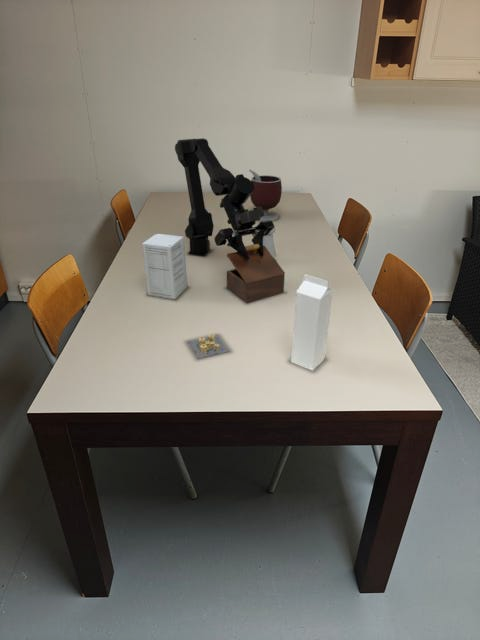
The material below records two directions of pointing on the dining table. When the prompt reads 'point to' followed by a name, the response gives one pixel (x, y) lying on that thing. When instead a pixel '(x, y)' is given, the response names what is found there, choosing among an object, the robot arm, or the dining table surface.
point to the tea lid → (255, 265)
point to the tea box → (254, 287)
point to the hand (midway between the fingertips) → (255, 257)
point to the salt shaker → (270, 243)
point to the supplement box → (165, 265)
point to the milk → (311, 322)
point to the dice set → (207, 346)
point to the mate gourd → (266, 194)
